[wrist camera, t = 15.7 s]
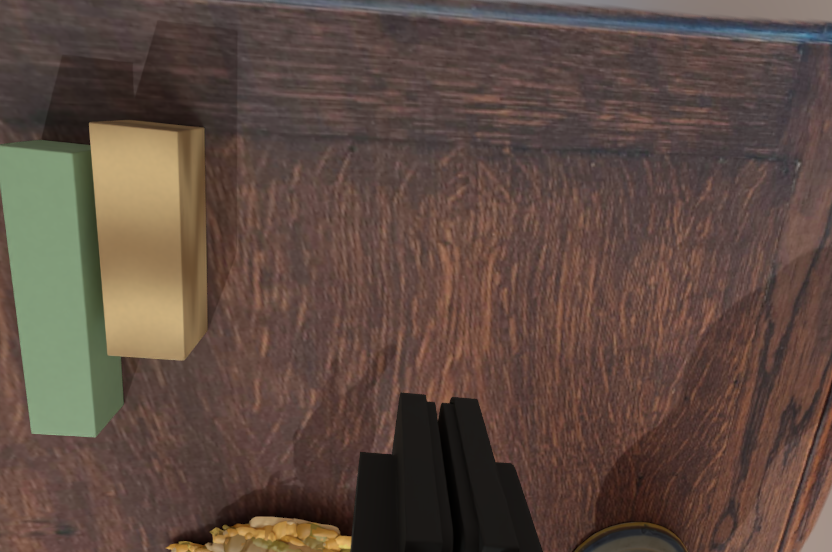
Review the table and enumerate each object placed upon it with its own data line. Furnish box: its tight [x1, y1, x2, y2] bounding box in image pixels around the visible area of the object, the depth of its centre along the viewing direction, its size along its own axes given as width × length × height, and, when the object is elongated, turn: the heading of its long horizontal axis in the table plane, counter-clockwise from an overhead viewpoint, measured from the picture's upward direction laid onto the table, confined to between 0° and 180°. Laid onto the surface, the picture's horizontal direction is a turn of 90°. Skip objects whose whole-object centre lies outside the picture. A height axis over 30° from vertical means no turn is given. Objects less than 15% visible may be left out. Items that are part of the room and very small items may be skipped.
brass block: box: [89, 120, 208, 360], centre depth 28 cm, size 12×4×4 cm, turn 174°
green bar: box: [0, 140, 124, 437], centre depth 29 cm, size 16×4×4 cm, turn 173°
